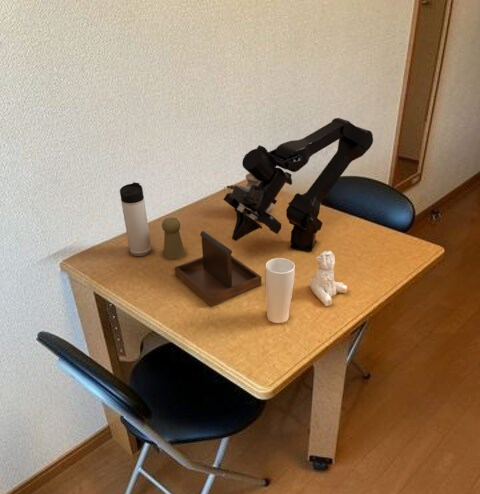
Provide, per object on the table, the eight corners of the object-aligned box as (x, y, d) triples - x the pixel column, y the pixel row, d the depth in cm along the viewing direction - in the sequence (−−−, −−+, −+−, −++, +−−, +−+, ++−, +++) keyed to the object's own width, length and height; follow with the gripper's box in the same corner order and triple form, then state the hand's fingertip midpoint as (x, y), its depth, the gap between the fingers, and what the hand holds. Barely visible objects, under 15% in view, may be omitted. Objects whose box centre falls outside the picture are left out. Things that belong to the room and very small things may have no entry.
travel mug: (155, 247, 149) (146, 183, 136) (145, 258, 144) (135, 193, 131) (137, 244, 150) (126, 180, 138) (126, 254, 145) (114, 190, 133)
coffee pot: (251, 203, 171) (251, 160, 162) (279, 211, 166) (281, 167, 157) (213, 227, 158) (210, 182, 149) (242, 237, 153) (241, 191, 143)
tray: (223, 256, 143) (221, 218, 136) (261, 284, 132) (262, 244, 124) (175, 275, 136) (170, 236, 129) (211, 306, 125) (208, 265, 117)
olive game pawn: (181, 260, 143) (177, 225, 136) (161, 258, 144) (156, 223, 137) (187, 249, 147) (184, 215, 140) (167, 247, 148) (163, 214, 141)
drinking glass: (262, 310, 123) (263, 258, 114) (289, 308, 124) (292, 256, 114) (265, 327, 118) (267, 274, 109) (294, 325, 118) (297, 272, 109)
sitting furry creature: (327, 308, 124) (332, 267, 116) (299, 294, 128) (302, 254, 121) (348, 291, 129) (354, 251, 122) (321, 279, 134) (325, 240, 126)
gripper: (228, 162, 128) (194, 213, 130) (273, 185, 116) (236, 241, 118) (252, 184, 137) (220, 231, 139) (297, 207, 125) (261, 259, 127)
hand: (233, 239), depth 130 cm, fingers closed
